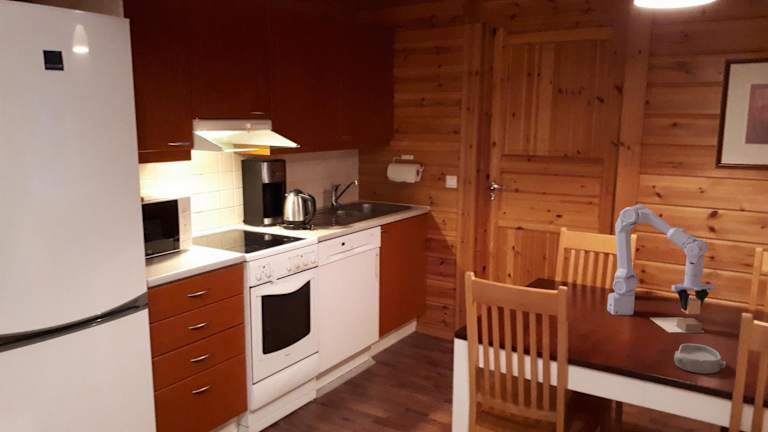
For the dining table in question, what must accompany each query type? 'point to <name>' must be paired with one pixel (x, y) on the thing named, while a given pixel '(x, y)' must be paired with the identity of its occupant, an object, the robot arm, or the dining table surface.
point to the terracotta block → (693, 306)
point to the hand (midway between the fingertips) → (690, 309)
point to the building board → (667, 323)
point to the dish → (698, 359)
